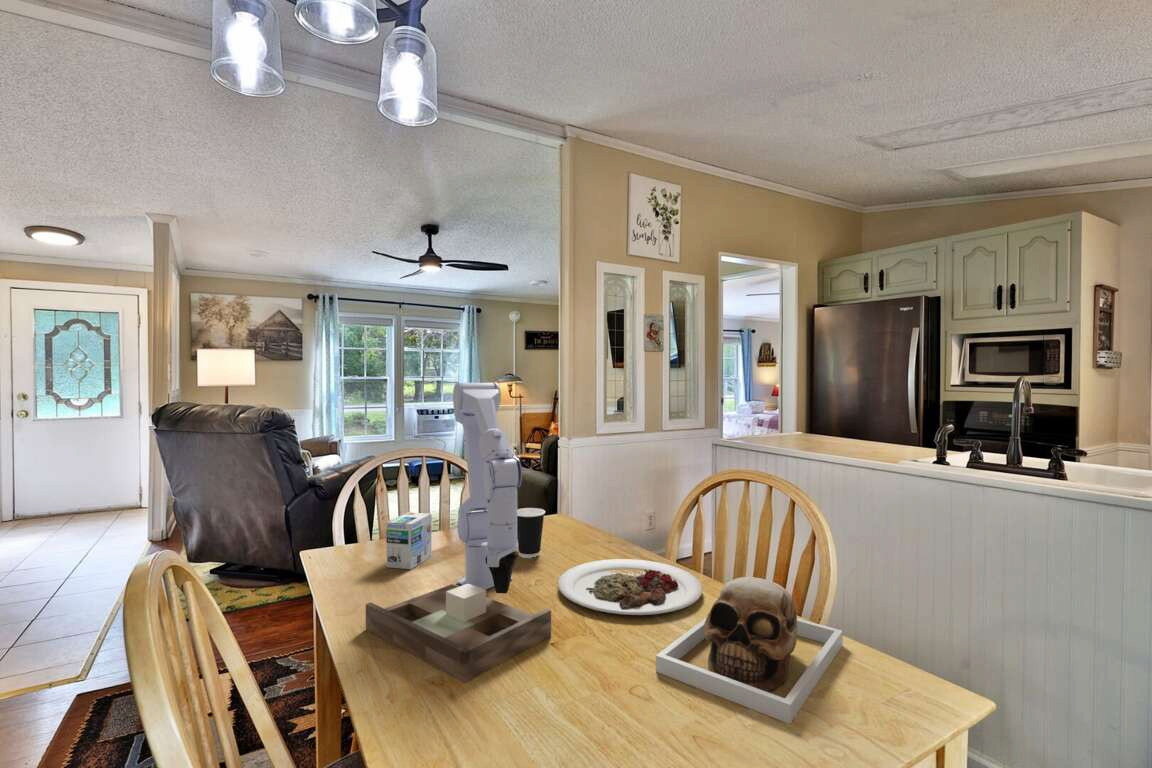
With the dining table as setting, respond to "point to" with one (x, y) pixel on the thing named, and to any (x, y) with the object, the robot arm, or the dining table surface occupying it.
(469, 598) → the cream block
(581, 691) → the dining table surface
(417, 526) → the light bulb box
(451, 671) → the brown wooden tray
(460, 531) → the robot arm
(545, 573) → the dining table surface
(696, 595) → the plated food
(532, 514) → the dixie cup
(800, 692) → the tray
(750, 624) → the brown skull figurine
